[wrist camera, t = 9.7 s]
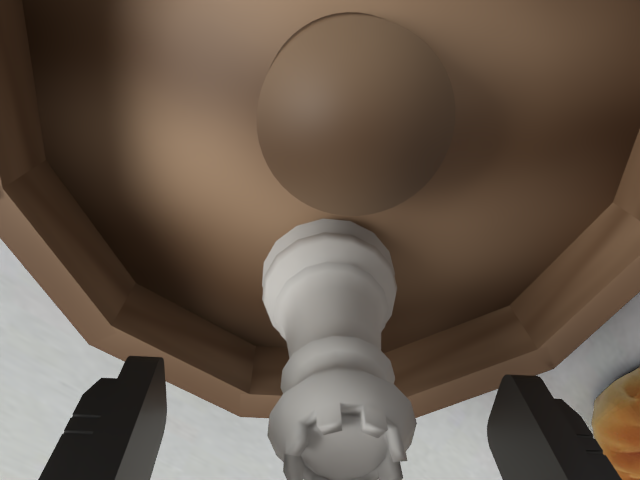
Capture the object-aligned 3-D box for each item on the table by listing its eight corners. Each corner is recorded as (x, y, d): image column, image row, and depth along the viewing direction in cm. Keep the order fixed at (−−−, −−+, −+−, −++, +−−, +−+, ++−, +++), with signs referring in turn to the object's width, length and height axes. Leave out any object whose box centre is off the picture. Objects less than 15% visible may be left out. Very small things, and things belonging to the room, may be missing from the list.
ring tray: (-95, -452, 11) (-258, -633, 8) (834, -314, 12) (1018, -419, 9) (47, 349, 20) (-1, 417, 17) (568, 376, 21) (614, 444, 18)
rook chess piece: (320, 185, 16) (334, 339, 9) (419, 264, 18) (501, 453, 10) (236, 280, 18) (190, 479, 10) (334, 346, 19) (353, 562, 12)
